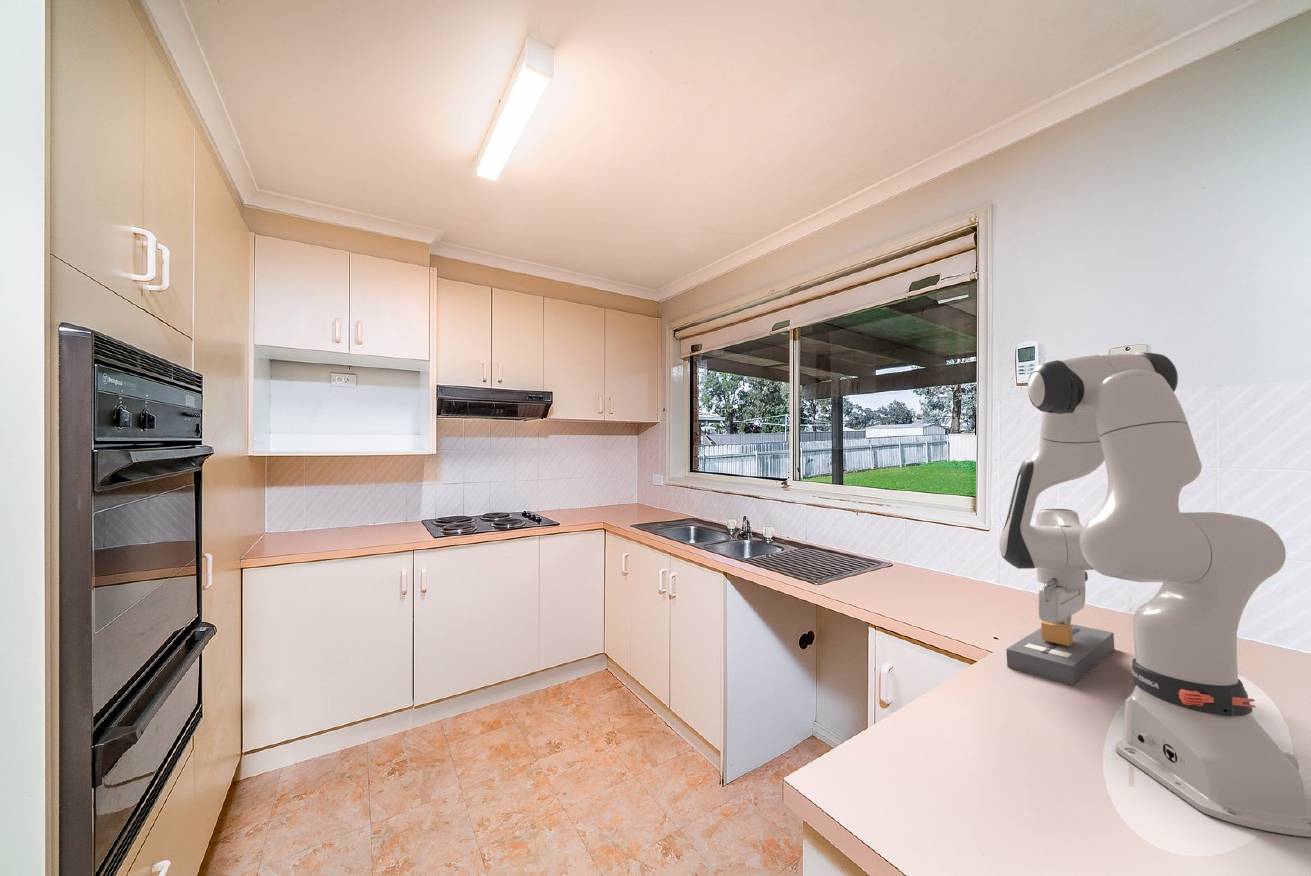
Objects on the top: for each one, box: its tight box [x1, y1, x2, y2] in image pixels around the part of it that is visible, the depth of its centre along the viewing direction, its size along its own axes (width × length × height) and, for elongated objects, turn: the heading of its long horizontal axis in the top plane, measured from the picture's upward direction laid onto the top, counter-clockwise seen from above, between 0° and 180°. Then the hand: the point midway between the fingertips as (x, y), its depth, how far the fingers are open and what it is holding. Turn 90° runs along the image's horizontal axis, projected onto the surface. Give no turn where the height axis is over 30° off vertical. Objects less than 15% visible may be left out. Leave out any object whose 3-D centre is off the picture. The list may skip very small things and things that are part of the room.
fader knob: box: [1040, 621, 1073, 646], centre depth 114 cm, size 3×5×4 cm, turn 35°
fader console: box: [1005, 623, 1115, 687], centre depth 116 cm, size 32×12×4 cm, turn 125°
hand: (1063, 634), depth 116 cm, fingers closed
